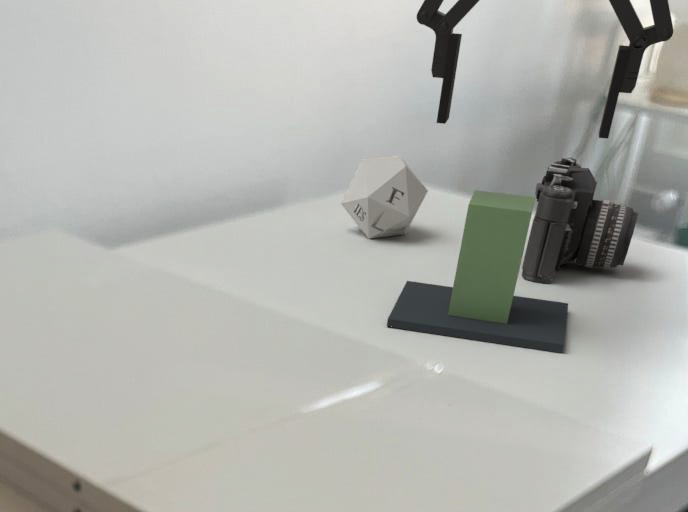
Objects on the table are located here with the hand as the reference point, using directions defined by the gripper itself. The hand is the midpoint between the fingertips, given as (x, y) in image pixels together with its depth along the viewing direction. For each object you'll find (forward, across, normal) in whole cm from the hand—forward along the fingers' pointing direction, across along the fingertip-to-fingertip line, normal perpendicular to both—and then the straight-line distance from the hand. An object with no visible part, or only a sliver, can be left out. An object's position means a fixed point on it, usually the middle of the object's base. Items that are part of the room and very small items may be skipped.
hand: (521, 128), depth 89 cm
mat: (+17, 0, 0) cm, 17 cm away
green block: (+16, -1, 0) cm, 16 cm away
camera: (+17, +8, +21) cm, 28 cm away
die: (+17, -14, +25) cm, 33 cm away
